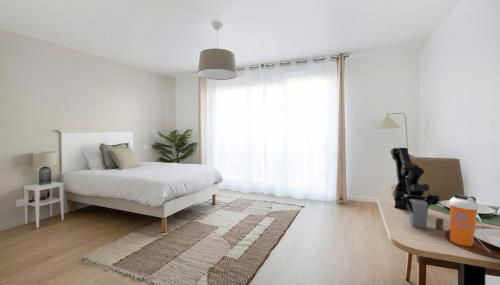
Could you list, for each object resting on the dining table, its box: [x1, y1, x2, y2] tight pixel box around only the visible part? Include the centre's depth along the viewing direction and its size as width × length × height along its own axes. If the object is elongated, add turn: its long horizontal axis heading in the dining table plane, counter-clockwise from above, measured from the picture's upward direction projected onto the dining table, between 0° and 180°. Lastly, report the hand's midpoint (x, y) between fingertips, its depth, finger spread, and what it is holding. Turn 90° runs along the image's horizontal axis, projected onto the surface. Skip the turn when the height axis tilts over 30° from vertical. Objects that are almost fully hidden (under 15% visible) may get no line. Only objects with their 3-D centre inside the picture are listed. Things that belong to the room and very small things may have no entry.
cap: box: [408, 199, 429, 229], centre depth 115 cm, size 6×6×12 cm
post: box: [435, 217, 445, 231], centre depth 111 cm, size 2×2×5 cm
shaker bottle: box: [449, 193, 479, 247], centre depth 98 cm, size 9×9×20 cm
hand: (419, 213), depth 114 cm, fingers closed on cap, 6 cm apart
